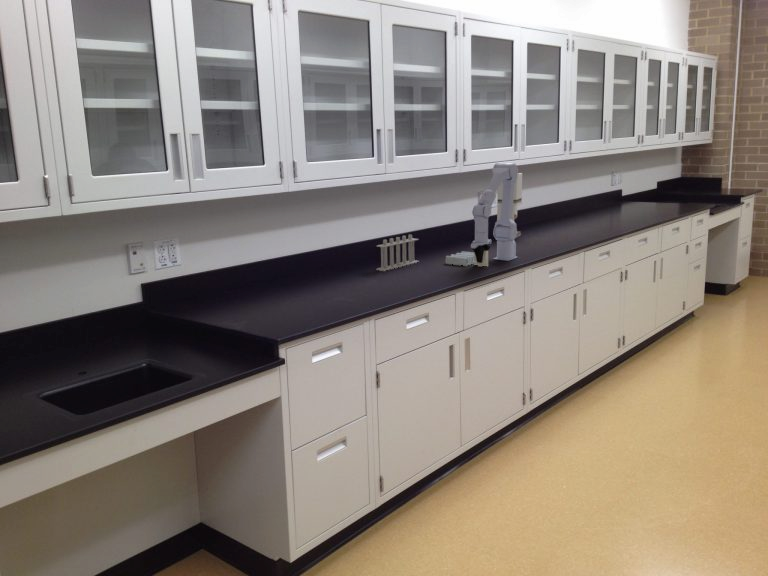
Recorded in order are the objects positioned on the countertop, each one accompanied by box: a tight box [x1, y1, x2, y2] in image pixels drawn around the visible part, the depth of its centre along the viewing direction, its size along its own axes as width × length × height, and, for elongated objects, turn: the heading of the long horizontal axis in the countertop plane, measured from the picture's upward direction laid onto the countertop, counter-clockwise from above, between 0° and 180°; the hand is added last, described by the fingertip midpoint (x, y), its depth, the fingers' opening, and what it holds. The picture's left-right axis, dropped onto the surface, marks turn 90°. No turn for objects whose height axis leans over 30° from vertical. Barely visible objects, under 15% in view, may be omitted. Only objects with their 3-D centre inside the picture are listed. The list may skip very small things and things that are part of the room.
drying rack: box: [445, 250, 474, 267], centre depth 307 cm, size 14×11×4 cm
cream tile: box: [473, 250, 489, 267], centre depth 298 cm, size 2×6×7 cm, turn 52°
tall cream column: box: [496, 172, 523, 239], centre depth 376 cm, size 11×11×35 cm
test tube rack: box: [376, 234, 420, 272], centre depth 301 cm, size 25×4×13 cm, turn 140°
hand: (481, 262), depth 298 cm, fingers open, 2 cm apart
